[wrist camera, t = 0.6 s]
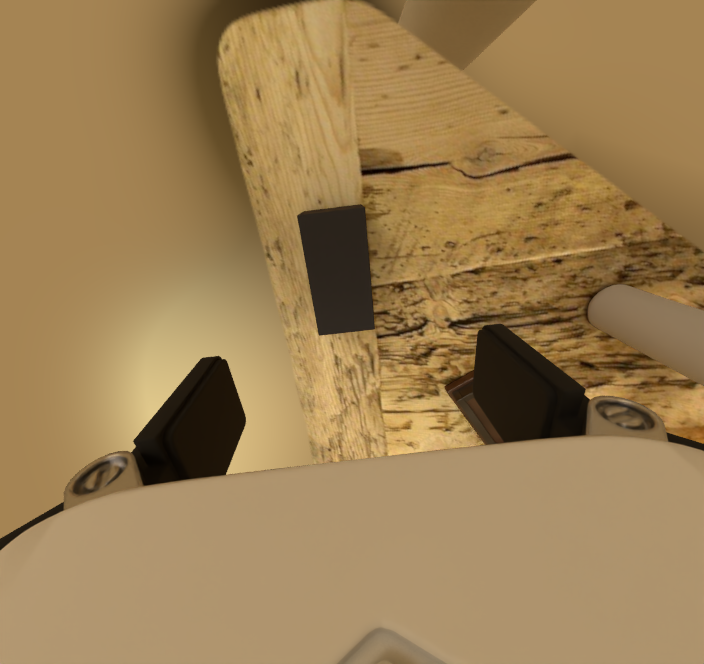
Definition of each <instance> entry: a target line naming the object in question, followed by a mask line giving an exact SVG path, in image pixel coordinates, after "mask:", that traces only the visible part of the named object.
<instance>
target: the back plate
mask: <svg viewBox="0 0 704 664" xmlns="http://www.w3.org/2000/svg"><path fill="white" fill-rule="evenodd" d="M473 377H474V371H472V372H470V373H468V374H467V375H465V376H463V377H461V378H459V379H458V380H456V381H454V382H452V383H451V384H449V385H447V386H445V389H446V391H447V393H448V394H449V396H450V397H451V398H452V400H453V401H454V402H455V404H456V405H457V406H458V408H459V409H460V411H461V412H462V413H463V415H464V416H465V417H466V419H467V420H468V421H469V423H470V424H471V425H472V427H473V428H474V430H475V431H476V432H477V434H478V435H479V436H480V438H481V439H482V440H483V442H484V443H485V445H490V444H499V443H504V441H503V440H502V438H501V437H500V436H499V434H498V433H497V431H496V430H495V428H494V427H493V425H492V424H491V422H490V421H489V419H488V418H487V416H486V415H485V413H484V412H483V411H482V409H481V408H480V406H479V405H478V403H477V402H476V400H475V399H474V396H473V391H472V388H473Z"/></svg>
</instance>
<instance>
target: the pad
mask: <svg viewBox="0 0 704 664" xmlns="http://www.w3.org/2000/svg"><path fill="white" fill-rule="evenodd" d="M297 217H298V223H299V228H300V234H301V239H302V245H303V250H304V256H305V262H306V267H307V273H308V278H309V284H310V289H311V295H312V300H313V306H314V311H315V317H316V323H317V328H318V334H319V335H328V334H337V333H346V332H355V331H363V330H372V329H375V325H374V313H373V301H372V289H371V276H370V264H369V252H368V239H367V227H366V215H365V207H363V206H362V205H353V206H345V207H336V208H328V209H320V210H311V211H304V212H302V213H301V214H299V215H298V216H297Z"/></svg>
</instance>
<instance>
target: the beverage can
mask: <svg viewBox="0 0 704 664" xmlns="http://www.w3.org/2000/svg"><path fill="white" fill-rule="evenodd" d="M588 319H589V322H590V323H591V324H592V325H593V326H594V327H596V328H598V329H600V330H602V331H603V332H605V333H607V334H609V335H611V336H613V337H614V338H616V339H618V340H620V341H622V342H624V343H625V344H627V345H629V346H631V347H633V348H635V349H636V350H638V351H640V352H642V353H644V354H646V355H647V356H649V357H651V358H653V359H655V360H657V361H659V362H660V363H662V364H664V365H666V366H668V367H670V368H671V369H673V370H675V371H677V372H679V373H681V374H682V375H684V376H686V377H688V378H690V379H692V380H693V381H695V382H697V383H699V384H701V385H703V386H704V311H703V310H700V309H697V308H694V307H691V306H687V305H684V304H681V303H678V302H675V301H672V300H669V299H666V298H663V297H660V296H657V295H654V294H651V293H648V292H645V291H643V290H640V289H637V288H634V287H631V286H628V285H622V284H618V285H612V286H610V287H607V288H605V289H603V290H601V291H600V292H598V293H597V294H596V295H595V296H594V297H593V298H592V300H591V301H590V303H589V306H588Z"/></svg>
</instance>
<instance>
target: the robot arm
mask: <svg viewBox="0 0 704 664" xmlns="http://www.w3.org/2000/svg"><path fill="white" fill-rule="evenodd" d="M585 390H586V389H585V388H584V387H582V386H581V385H580V384H579V383H577V382H576V381H575V380H573V379H572V378H571V377H570V376H568V375H567V374H566V373H564V372H563V371H562V370H560V369H559V368H558V367H557V366H555V365H554V364H553V363H551V362H550V361H549V360H548V359H546V358H545V357H544V356H542V355H541V354H540V353H539V352H537V351H536V350H535V349H533V348H532V347H531V346H530V345H528V344H527V343H526V342H524V341H523V340H522V339H521V338H519V337H518V336H517V335H515V334H514V333H513V332H512V331H510V330H509V329H508V328H506V327H505V326H504V325H502V324H494V325H485V326H484V327H483V328H482V330H479V331H478V335H477V346H476V356H475V367H474V377H473V388H472V391H473V396H474V399H475V400H476V402H477V403H478V405H479V406H480V408H481V409H482V411H483V412H484V413H485V415H486V416H487V418H488V419H489V421H490V422H491V424H492V425H493V427H494V428H495V430H496V431H497V433H498V434H499V436H500V437H501V438H502V440H503V441H504V443H499V444H490V445H480V446H471V447H462V448H453V449H444V450H436V451H427V452H418V453H410V454H401V455H392V456H384V457H375V458H366V459H358V460H349V461H340V462H331V463H323V464H314V465H305V466H297V467H288V468H279V469H271V470H263V471H254V472H246V473H238V474H229V475H226V472H227V470H228V467H229V465H230V462H231V460H232V457H233V454H234V452H235V450H236V447H237V445H238V442H239V440H240V437H241V434H242V432H243V430H244V427H245V423H246V417H245V413H244V410H243V408H242V404H241V402H240V399H239V396H238V393H237V390H236V387H235V384H234V381H233V378H232V375H231V372H230V369H229V366H228V363H227V361H226V360H225V359H221V357H219V356H215V357H206V358H202V359H200V361H199V362H198V363H197V364H196V366H195V367H194V368H193V369H192V370H191V372H190V373H189V374H188V376H186V378H185V379H184V380H183V381H182V382H181V384H180V385H179V386H178V387H177V389H176V390H175V391H174V392H173V393H172V395H171V396H170V397H169V398H168V400H167V401H166V402H165V403H164V404H163V406H162V407H161V408H160V409H159V410H158V412H157V413H156V414H155V415H154V416H153V418H152V419H151V420H150V421H149V422H148V424H147V425H146V426H145V427H144V428H143V430H142V431H141V432H140V433H139V435H138V436H137V437H136V438H135V439H134V441H133V442H134V444H135V445H136V448H135V449H134V450H133V451H132V452H131V453H130V452H128V451H118V452H114V453H110V454H108V455H105V456H103V457H100V458H98V459H97V460H95V461H93V462H91V463H90V464H88V465H87V466H85V467H84V468H83V469H81V470H80V471H79V472H78V473H77V474H76V475H75V476H74V477H73V478H72V479H71V480H70V482H69V483H68V484H67V486H66V488H65V492H64V502H63V503H61V504H59V505H58V506H56V507H54V508H52V509H51V510H49V511H47V512H46V513H44V514H42V515H40V516H39V517H37V518H35V519H33V520H32V521H30V522H28V523H27V524H25V525H23V526H21V527H20V528H18V529H16V530H14V531H13V532H11V533H9V534H8V535H6V536H4V537H3V538H1V539H0V664H704V444H702V443H699V442H696V441H692V440H689V439H686V438H683V437H679V436H676V435H673V434H670V433H666V430H665V426H664V423H663V421H662V419H661V418H660V417H659V416H658V415H657V414H656V413H655V412H653V411H652V410H650V409H648V408H647V407H645V406H643V405H641V404H639V403H636V402H634V401H631V400H628V399H624V398H620V397H614V396H598V397H594V398H592V399H591V400H590V399H589V398H587V397H586V396H585V395H584V393H585Z"/></svg>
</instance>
